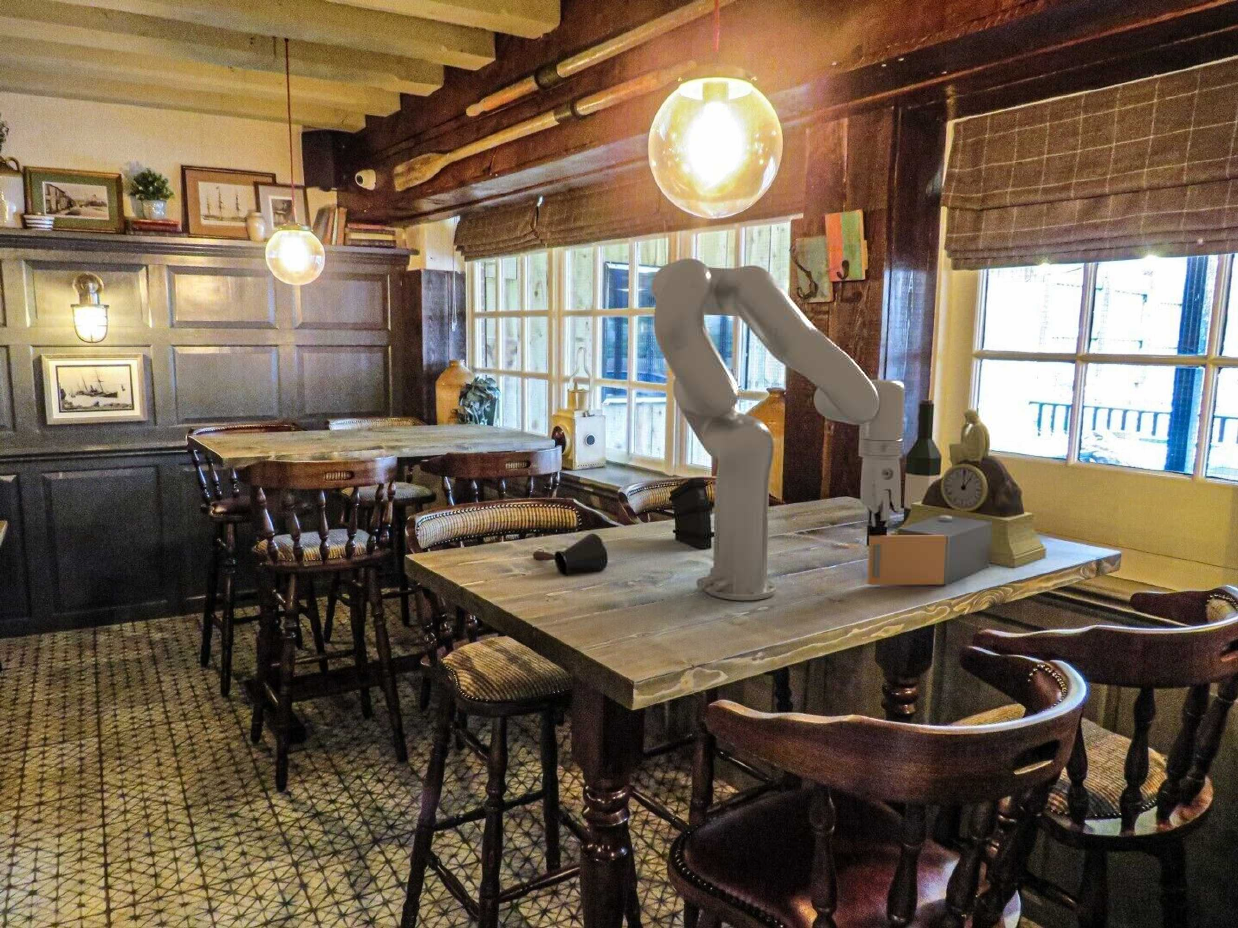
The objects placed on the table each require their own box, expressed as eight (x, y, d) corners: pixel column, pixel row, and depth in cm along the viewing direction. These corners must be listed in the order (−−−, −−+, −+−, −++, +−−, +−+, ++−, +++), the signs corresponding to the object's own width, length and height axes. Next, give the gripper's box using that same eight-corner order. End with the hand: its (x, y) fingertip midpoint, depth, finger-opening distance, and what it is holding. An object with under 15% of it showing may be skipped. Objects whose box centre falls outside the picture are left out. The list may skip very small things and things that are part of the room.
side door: (949, 585, 156) (951, 536, 155) (869, 585, 156) (871, 537, 155) (945, 582, 158) (948, 534, 156) (867, 583, 157) (869, 535, 156)
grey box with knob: (946, 585, 158) (949, 533, 156) (896, 574, 165) (898, 524, 163) (994, 564, 172) (997, 516, 170) (946, 555, 179) (948, 509, 177)
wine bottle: (944, 528, 204) (951, 401, 199) (908, 528, 204) (915, 401, 199) (931, 520, 212) (938, 398, 207) (897, 520, 212) (903, 398, 207)
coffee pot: (612, 571, 166) (573, 584, 162) (570, 562, 182) (534, 574, 178) (604, 533, 165) (565, 546, 161) (563, 527, 181) (526, 539, 177)
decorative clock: (890, 541, 191) (897, 406, 187) (923, 533, 199) (929, 403, 195) (1014, 568, 170) (1025, 416, 165) (1045, 557, 178) (1056, 412, 173)
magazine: (706, 546, 180) (691, 477, 184) (677, 559, 192) (663, 494, 195) (721, 544, 182) (706, 476, 186) (692, 557, 193) (678, 493, 197)
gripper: (914, 454, 148) (909, 557, 151) (888, 442, 163) (884, 537, 166) (871, 454, 148) (867, 557, 151) (849, 443, 163) (845, 537, 166)
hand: (876, 546), depth 158 cm, fingers closed
